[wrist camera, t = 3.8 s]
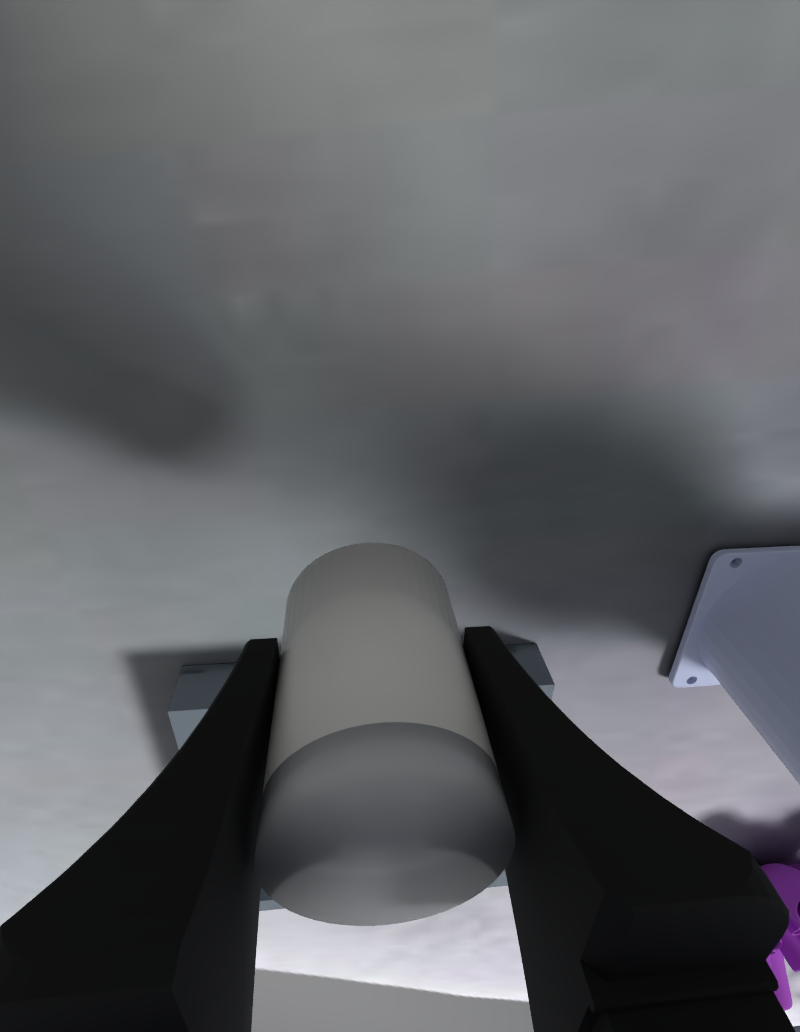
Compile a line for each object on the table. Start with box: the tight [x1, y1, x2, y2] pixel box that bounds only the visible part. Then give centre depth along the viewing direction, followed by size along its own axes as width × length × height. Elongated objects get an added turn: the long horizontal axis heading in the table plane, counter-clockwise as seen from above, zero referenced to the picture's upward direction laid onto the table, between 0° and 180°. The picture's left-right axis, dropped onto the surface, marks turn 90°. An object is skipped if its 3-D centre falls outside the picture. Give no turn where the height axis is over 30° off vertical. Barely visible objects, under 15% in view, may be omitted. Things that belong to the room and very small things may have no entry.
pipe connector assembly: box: [760, 863, 800, 1010], centre depth 36 cm, size 11×15×10 cm
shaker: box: [254, 543, 515, 926], centre depth 12 cm, size 4×4×6 cm
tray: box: [168, 644, 555, 911], centre depth 28 cm, size 16×16×2 cm
